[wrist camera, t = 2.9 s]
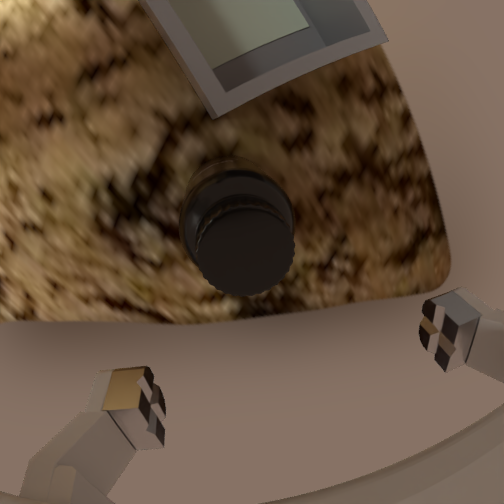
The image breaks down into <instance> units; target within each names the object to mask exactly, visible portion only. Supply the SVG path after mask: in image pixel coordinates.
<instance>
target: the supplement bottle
mask: <svg viewBox="0 0 504 504" xmlns="http://www.w3.org/2000/svg"><path fill="white" fill-rule="evenodd" d="M179 233H180V239H181V243H182V245H183V248H184V250H185V252H186V254H187V255H188V257H189V258H190V260H191V261H192V262H193V263H194V264H195V265H196V266H197V267H198V268H199V270H200V271H201V272H202V273H203V277H204V278H205V279H207V280H208V282H209V284H210V285H213V286H215V288H216V289H217V290H221V291H223V292H224V293H225V294H231V295H233V296H237V295H239V296H246V295H249V296H253V295H255V294H260V293H262V292H264V291H266V290H270V289H271V288H272V287H273V286H275V285H277V284H278V283H279V281H280V280H282V279H283V278H284V277H285V274H286V273H287V272H288V271H289V268H290V266H291V264H292V263H293V257H294V255H295V252H294V248H295V243H294V241H293V239H294V233H295V214H294V209H293V206H292V203H291V201H290V199H289V197H288V196H287V194H286V193H285V191H284V190H283V189H282V187H281V186H280V185H279V184H278V183H277V182H276V181H274V180H273V179H272V178H271V177H270V176H269V175H267V174H266V173H265V172H264V171H263V170H261V169H260V168H259V167H258V166H257V165H255V164H254V163H252V162H251V161H249V160H247V159H245V158H242V157H238V156H219V157H216V158H213V159H210V160H208V161H207V162H205V163H204V164H202V165H201V166H200V167H199V168H198V169H197V170H196V171H195V172H194V173H193V175H192V176H191V178H190V180H189V182H188V185H187V188H186V192H185V196H184V200H183V204H182V208H181V213H180V219H179Z"/></svg>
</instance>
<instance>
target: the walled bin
mask: <svg viewBox="0 0 504 504" xmlns="http://www.w3.org/2000/svg"><path fill="white" fill-rule="evenodd" d="M138 1H139V3H140V4H141V6H142V8H143V9H144V11H145V12H146V14H147V15H148V17H149V18H150V20H151V21H152V23H153V25H154V26H155V28H156V29H157V31H158V32H159V34H160V36H161V37H162V39H163V40H164V42H165V43H166V45H167V47H168V48H169V50H170V51H171V53H172V55H173V56H174V58H175V59H176V61H177V63H178V64H179V66H180V67H181V69H182V71H183V72H184V74H185V75H186V77H187V79H188V80H189V82H190V84H191V85H192V87H193V89H194V90H195V92H196V93H197V95H198V97H199V98H200V100H201V102H202V103H203V105H204V107H205V108H206V110H207V112H208V113H209V115H210V117H211V118H212V120H213V119H216V118H218V117H220V116H222V115H223V114H225V113H227V112H229V111H231V110H232V109H234V108H236V107H238V106H240V105H242V104H244V103H246V102H248V101H249V100H251V99H253V98H255V97H257V96H259V95H261V94H263V93H265V92H267V91H269V90H271V89H273V88H275V87H278V86H280V85H282V84H284V83H286V82H288V81H290V80H292V79H295V78H297V77H299V76H301V75H303V74H306V73H308V72H310V71H313V70H315V69H317V68H319V67H322V66H324V65H327V64H329V63H331V62H334V61H336V60H339V59H341V58H344V57H347V56H349V55H352V54H354V53H357V52H360V51H362V50H365V49H368V48H371V47H374V46H376V45H379V44H382V43H385V42H388V41H389V40H388V38H387V36H386V34H385V32H384V30H383V28H382V27H381V25H380V23H379V21H378V19H377V18H376V16H375V14H374V12H373V10H372V9H371V7H370V5H369V4H368V2H367V0H138Z"/></svg>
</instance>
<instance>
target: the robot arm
mask: <svg viewBox="0 0 504 504" xmlns="http://www.w3.org/2000/svg"><path fill="white" fill-rule="evenodd" d="M422 313H423V315H424V318H423V320H422V321H421V322H420V325H419V337H420V341H421V343H422V345H423V347H424V348H425V349H426V350H427V351H428V352H431V353H434V354H435V357H434V358H435V361H436V362H437V363H438V365H439V366H440V367H441V368H442V369H443V371H444V372H445V373H446V372H448V371H451V370H453V369H455V368H457V367H460V366H462V365H464V364H466V365H467V366H469V367H471V368H473V369H475V370H477V371H479V372H481V373H484V374H486V375H488V376H490V377H492V378H494V379H496V380H498V381H500V382H503V383H504V311H503V310H499V309H496V310H493V309H492V308H491V307H489V306H488V305H487V304H486V303H484V302H483V301H482V300H481V299H479V298H478V297H477V296H475V295H474V294H473V293H472V292H470V291H469V290H468V289H466V288H464V287H459V288H456V289H454V290H451V291H449V292H447V293H444V294H442V295H439V296H436V297H434V298H431V299H428V300H425V302H424V304H423V306H422ZM153 381H154V374H153V373H152V371H151V369H150V367H148V366H141V367H132V368H120V369H112V370H100V371H99V372H98V373H97V374H96V377H95V380H94V383H93V386H92V390H91V393H90V396H89V399H88V403H87V406H86V409H85V412H80V413H79V414H78V415H77V416H76V417H75V418H74V419H73V420H71V422H69V423H68V424H67V425H66V426H65V427H64V428H63V429H62V430H61V431H60V432H59V433H58V434H57V435H56V436H55V437H54V438H52V440H50V441H49V442H48V443H47V444H46V445H45V446H44V447H43V448H42V449H41V450H40V451H39V452H38V453H36V455H34V456H33V457H32V458H31V459H30V460H29V464H28V467H27V470H26V474H25V477H24V480H23V484H22V488H21V491H20V495H19V496H16V495H12V494H9V493H5V492H2V491H0V504H115V503H114V502H112V501H111V500H110V499H109V498H108V497H106V496H107V494H108V493H109V492H110V490H111V488H112V487H113V486H114V484H115V483H116V481H117V480H118V478H119V477H120V476H121V474H122V473H123V471H124V470H125V468H126V467H127V465H128V464H129V462H130V461H131V459H132V458H133V456H134V455H135V453H136V450H148V449H159V448H164V440H165V429H164V427H163V425H162V423H161V422H162V421H163V420H164V419H165V418H166V406H165V399H164V396H163V393H162V391H161V389H160V387H159V386H158V385H156V384H154V383H153ZM260 504H504V404H502V405H501V406H499V407H498V408H496V409H495V410H493V411H492V412H490V413H489V414H487V415H486V416H484V417H483V418H481V419H479V420H478V421H476V422H475V423H473V424H471V425H470V426H468V427H466V428H465V429H463V430H461V431H460V432H458V433H456V434H454V435H452V436H450V437H449V438H447V439H445V440H443V441H441V442H439V443H437V444H435V445H433V446H431V447H430V448H427V449H425V450H424V451H421V452H419V453H418V454H415V455H413V456H411V457H408V458H406V459H404V460H402V461H399V462H397V463H395V464H392V465H390V466H388V467H385V468H383V469H380V470H377V471H375V472H372V473H370V474H367V475H365V476H361V477H359V478H356V479H353V480H350V481H347V482H344V483H341V484H337V485H334V486H331V487H328V488H325V489H321V490H317V491H314V492H310V493H306V494H302V495H298V496H294V497H290V498H285V499H280V500H275V501H270V502H265V503H260Z"/></svg>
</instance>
